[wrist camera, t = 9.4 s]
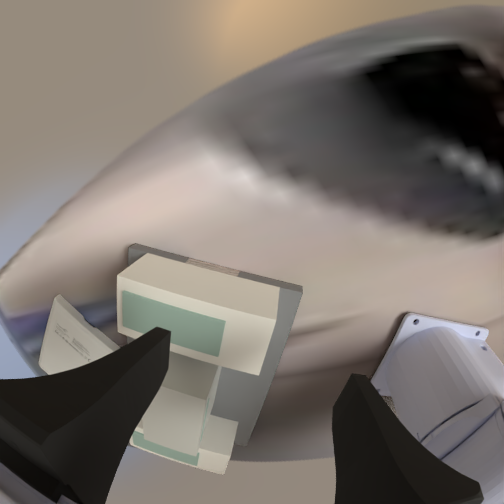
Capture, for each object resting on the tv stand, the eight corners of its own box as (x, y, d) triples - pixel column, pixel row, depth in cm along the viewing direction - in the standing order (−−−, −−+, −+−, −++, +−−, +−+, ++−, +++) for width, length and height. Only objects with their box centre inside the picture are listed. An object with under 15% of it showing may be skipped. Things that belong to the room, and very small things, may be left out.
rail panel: (302, 286, 19) (304, 328, 14) (247, 439, 25) (239, 480, 20) (135, 243, 20) (94, 269, 15) (135, 405, 26) (115, 440, 21)
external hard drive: (44, 356, 27) (62, 290, 23) (95, 400, 28) (127, 347, 24) (37, 364, 26) (52, 298, 22) (88, 409, 27) (119, 357, 22)
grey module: (227, 341, 20) (207, 400, 15) (214, 402, 23) (196, 456, 17) (173, 325, 20) (139, 377, 15) (169, 388, 23) (143, 438, 17)
